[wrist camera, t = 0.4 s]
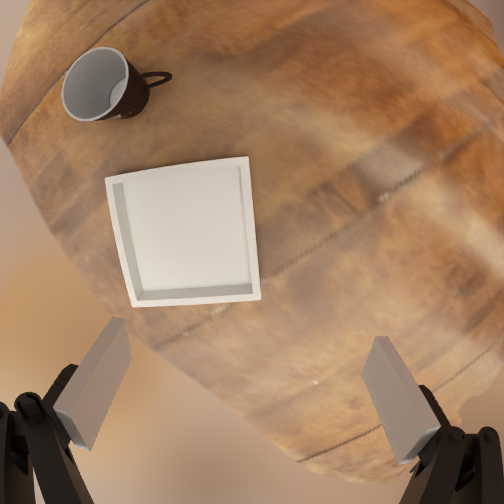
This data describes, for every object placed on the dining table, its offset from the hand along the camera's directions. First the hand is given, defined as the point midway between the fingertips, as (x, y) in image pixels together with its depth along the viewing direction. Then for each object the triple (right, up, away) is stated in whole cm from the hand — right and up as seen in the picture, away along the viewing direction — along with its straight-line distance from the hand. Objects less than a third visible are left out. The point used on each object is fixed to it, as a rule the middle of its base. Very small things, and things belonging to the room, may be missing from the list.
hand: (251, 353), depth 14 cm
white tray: (-9, +8, +25) cm, 27 cm away
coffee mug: (-15, +25, +19) cm, 35 cm away
